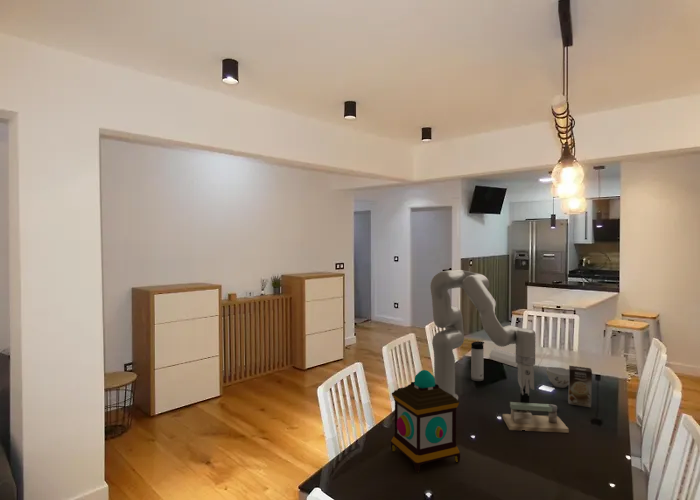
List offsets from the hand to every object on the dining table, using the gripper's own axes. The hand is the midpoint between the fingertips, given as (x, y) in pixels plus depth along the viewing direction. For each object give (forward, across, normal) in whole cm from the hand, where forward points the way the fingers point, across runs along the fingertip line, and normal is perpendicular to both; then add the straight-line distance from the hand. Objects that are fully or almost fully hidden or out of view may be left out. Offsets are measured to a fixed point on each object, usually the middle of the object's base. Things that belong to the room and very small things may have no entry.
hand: (524, 403), depth 182 cm
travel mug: (+7, +51, +15) cm, 54 cm away
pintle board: (+7, -4, -3) cm, 8 cm away
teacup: (+7, +50, -26) cm, 56 cm away
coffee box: (+7, +25, -28) cm, 38 cm away
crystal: (+8, +87, -5) cm, 87 cm away
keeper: (+1, -3, -3) cm, 4 cm away
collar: (+6, -4, +2) cm, 7 cm away
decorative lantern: (+7, -38, +39) cm, 55 cm away
